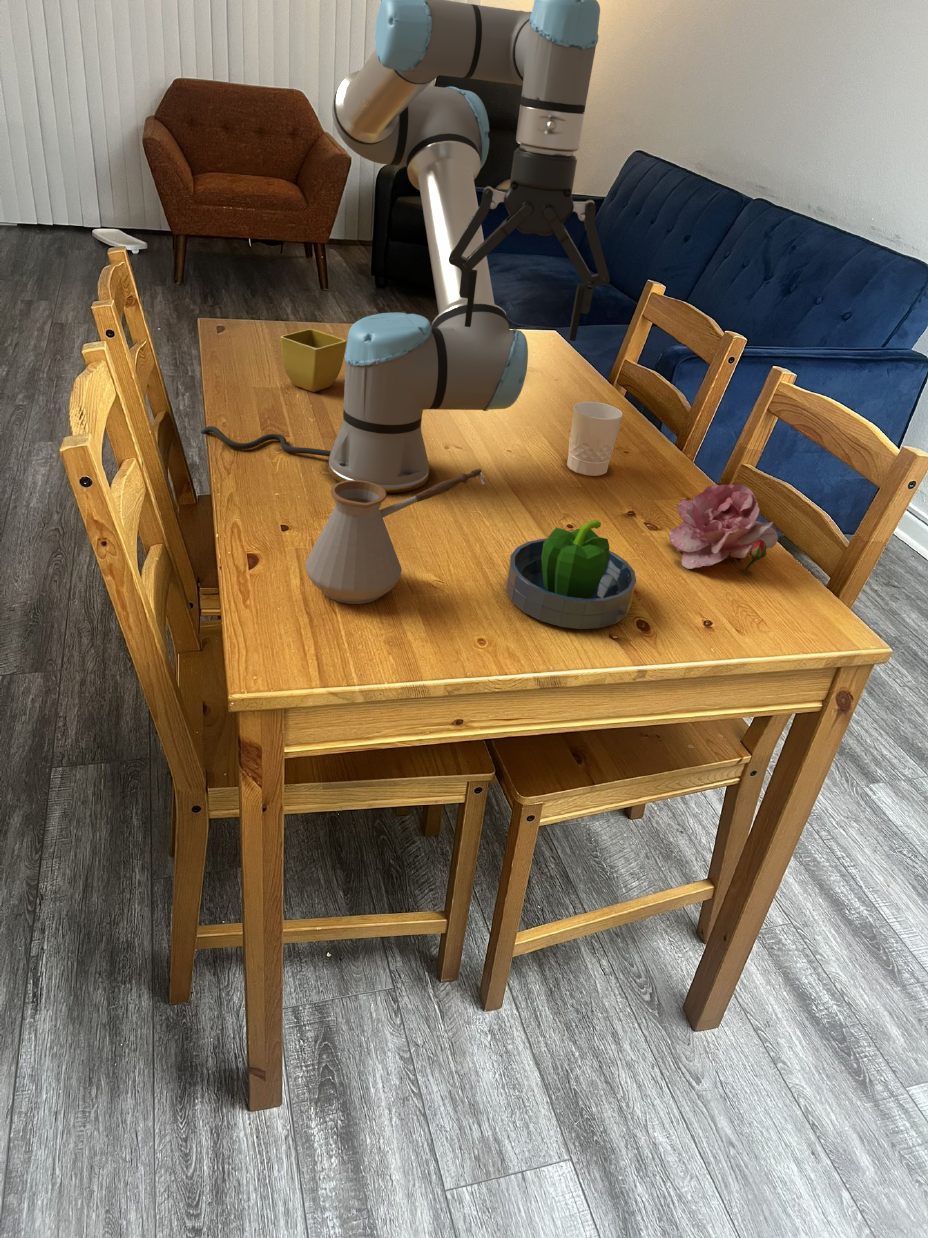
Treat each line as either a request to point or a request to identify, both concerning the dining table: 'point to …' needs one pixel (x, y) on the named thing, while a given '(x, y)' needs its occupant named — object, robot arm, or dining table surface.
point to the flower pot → (312, 358)
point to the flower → (721, 527)
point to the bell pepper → (574, 561)
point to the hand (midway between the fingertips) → (519, 331)
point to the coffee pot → (362, 541)
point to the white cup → (593, 437)
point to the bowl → (562, 610)
